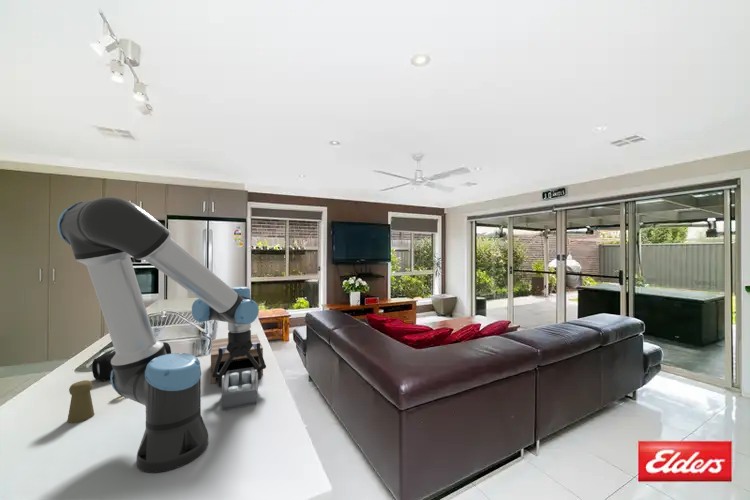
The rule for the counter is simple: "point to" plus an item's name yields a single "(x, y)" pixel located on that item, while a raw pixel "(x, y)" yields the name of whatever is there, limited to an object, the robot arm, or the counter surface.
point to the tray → (239, 388)
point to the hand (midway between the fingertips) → (240, 392)
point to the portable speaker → (104, 367)
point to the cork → (80, 402)
